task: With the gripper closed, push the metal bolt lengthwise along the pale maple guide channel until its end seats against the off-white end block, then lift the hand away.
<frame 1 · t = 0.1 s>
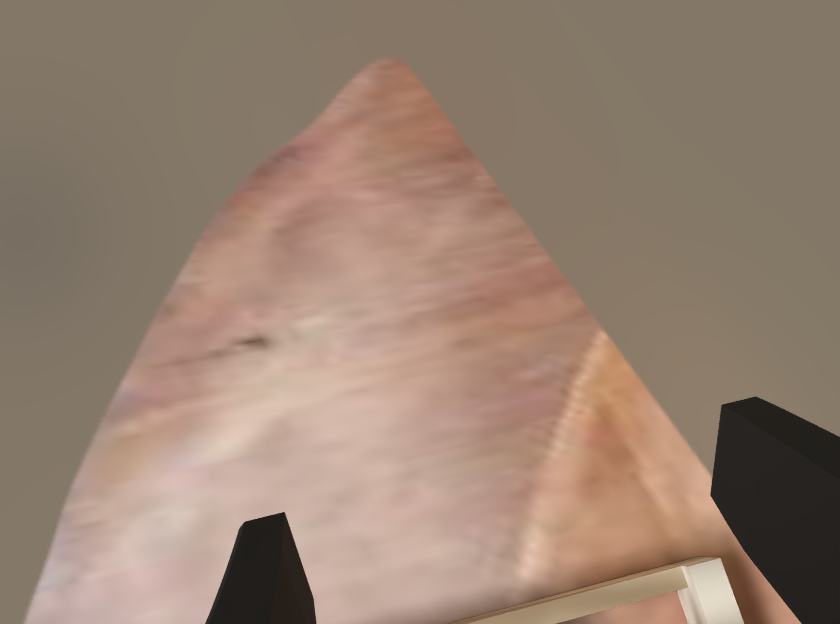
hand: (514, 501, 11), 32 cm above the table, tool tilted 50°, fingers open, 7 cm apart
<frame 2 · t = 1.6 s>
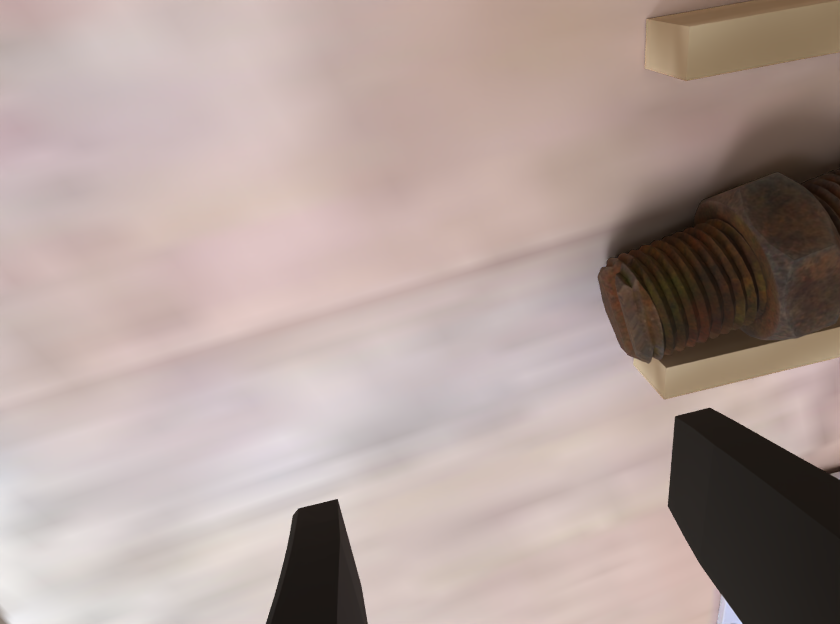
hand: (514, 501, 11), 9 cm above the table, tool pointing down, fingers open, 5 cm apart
bolt: (802, 187, 21), on the table
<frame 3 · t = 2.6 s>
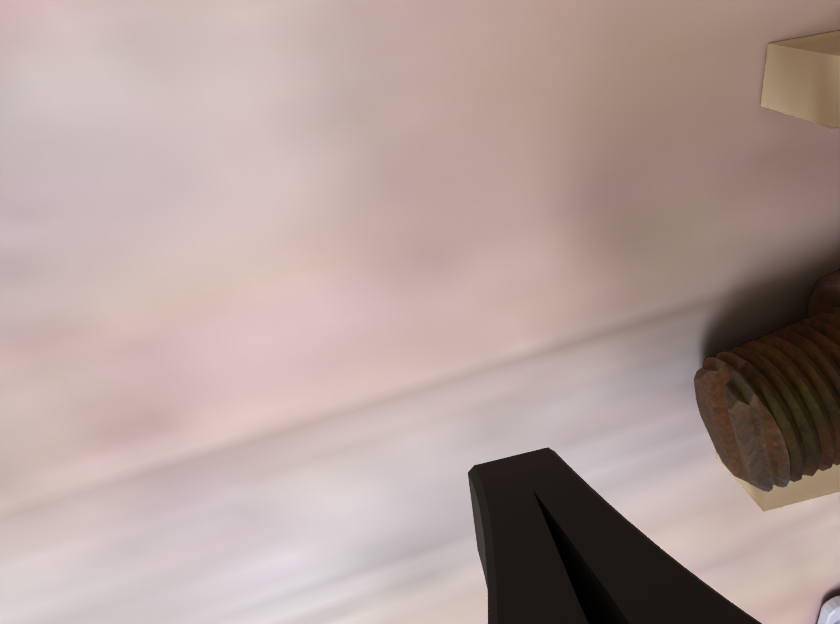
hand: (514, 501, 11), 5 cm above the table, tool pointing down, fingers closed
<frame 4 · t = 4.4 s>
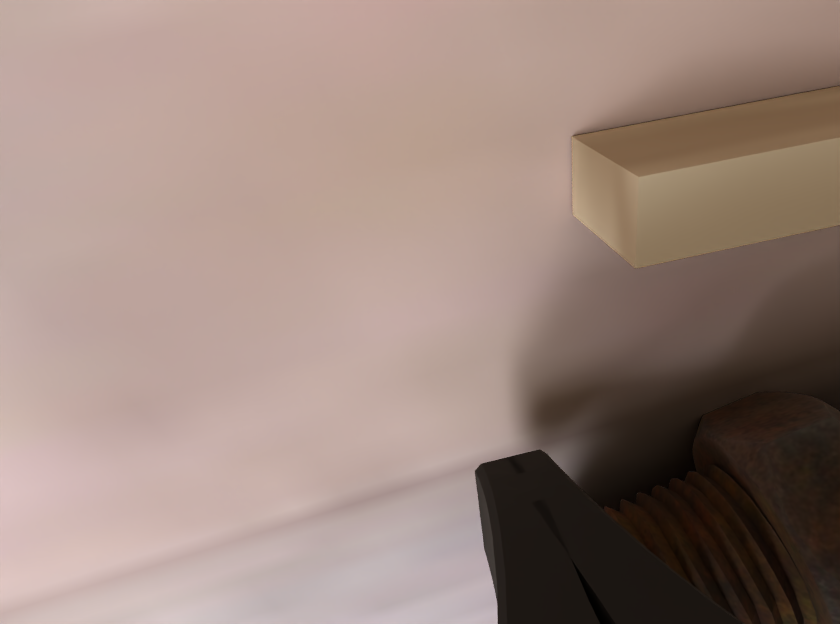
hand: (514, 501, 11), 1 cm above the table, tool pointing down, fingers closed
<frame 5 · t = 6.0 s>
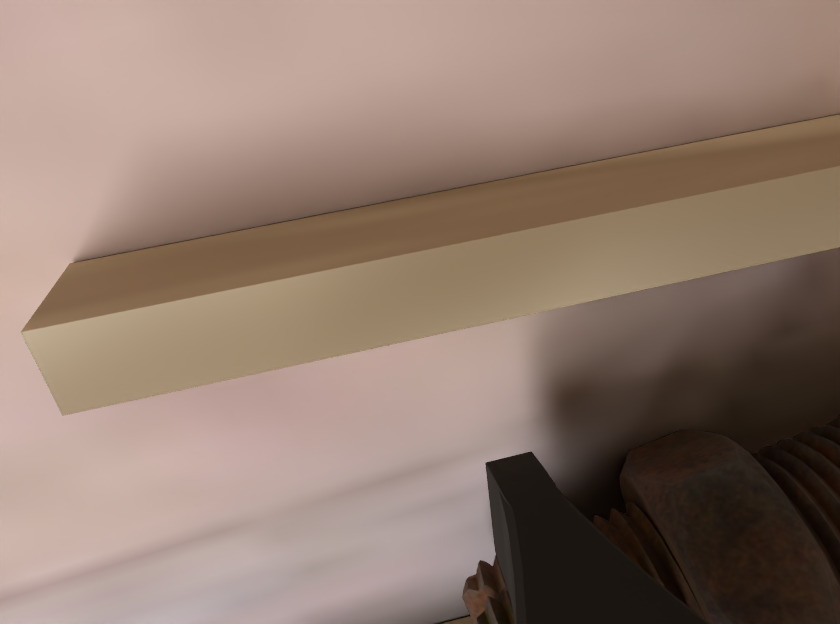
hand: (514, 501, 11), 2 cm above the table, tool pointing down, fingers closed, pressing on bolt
guide channel: (797, 388, 13), on the table
bolt: (789, 414, 14), on the table, touching gripper, guide channel
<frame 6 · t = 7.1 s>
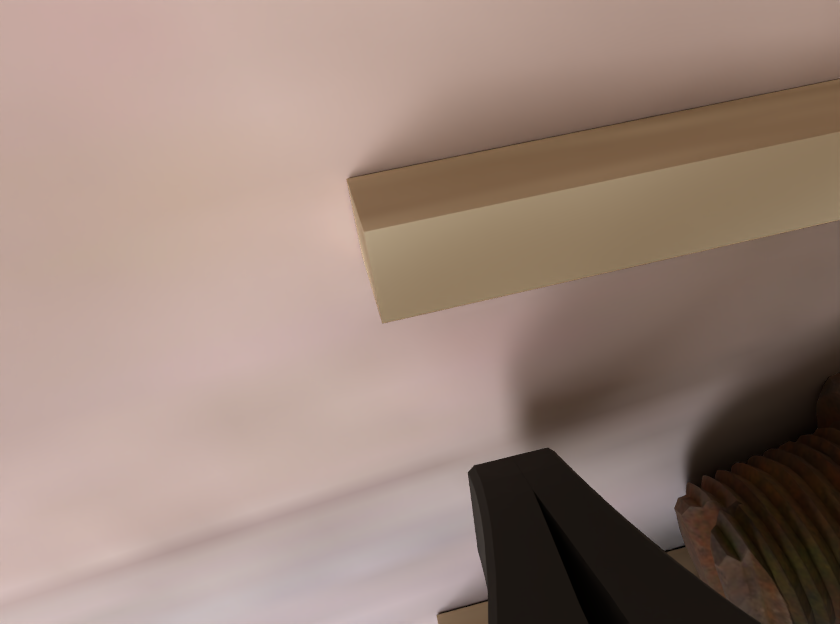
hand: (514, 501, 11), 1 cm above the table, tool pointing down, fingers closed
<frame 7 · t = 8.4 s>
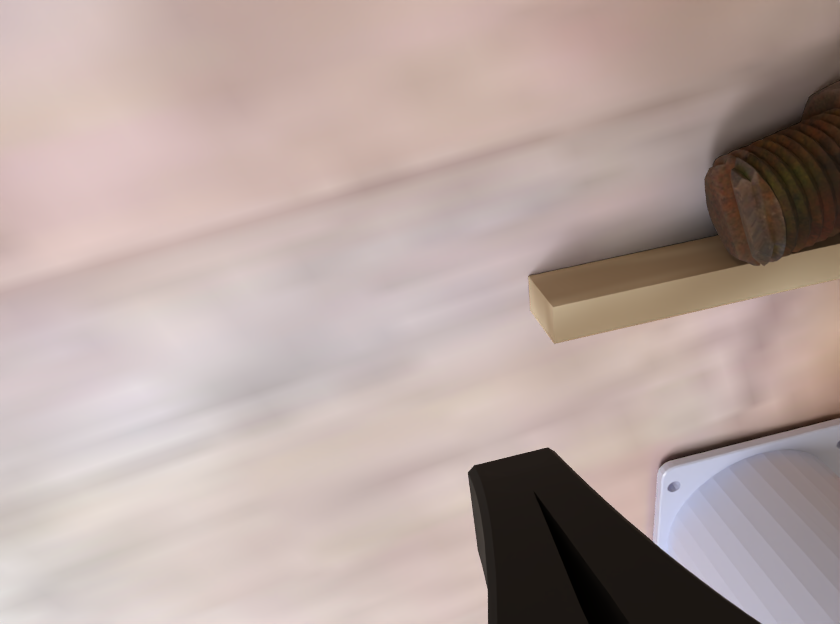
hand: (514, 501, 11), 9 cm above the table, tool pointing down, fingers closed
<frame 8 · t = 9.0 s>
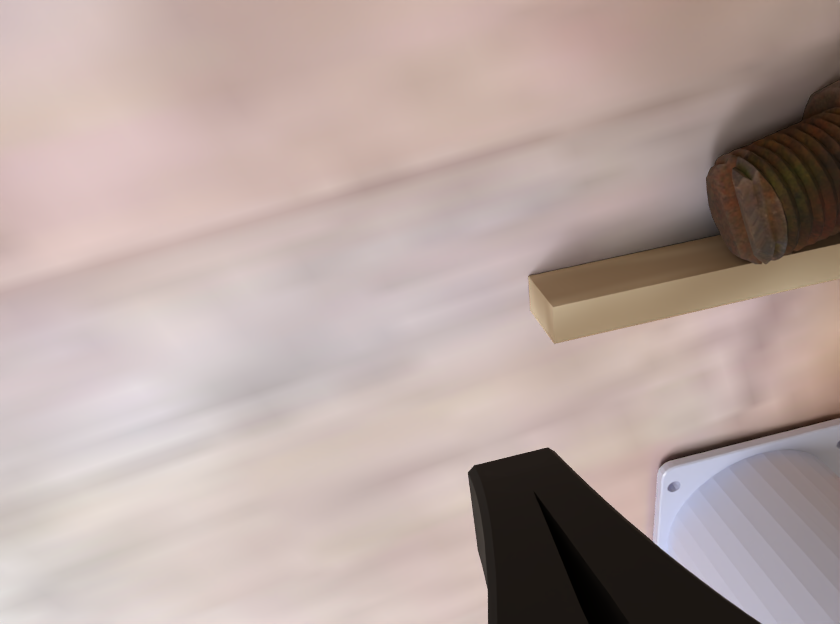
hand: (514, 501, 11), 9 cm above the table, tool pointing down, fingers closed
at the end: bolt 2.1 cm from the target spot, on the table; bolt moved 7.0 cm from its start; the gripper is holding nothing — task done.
